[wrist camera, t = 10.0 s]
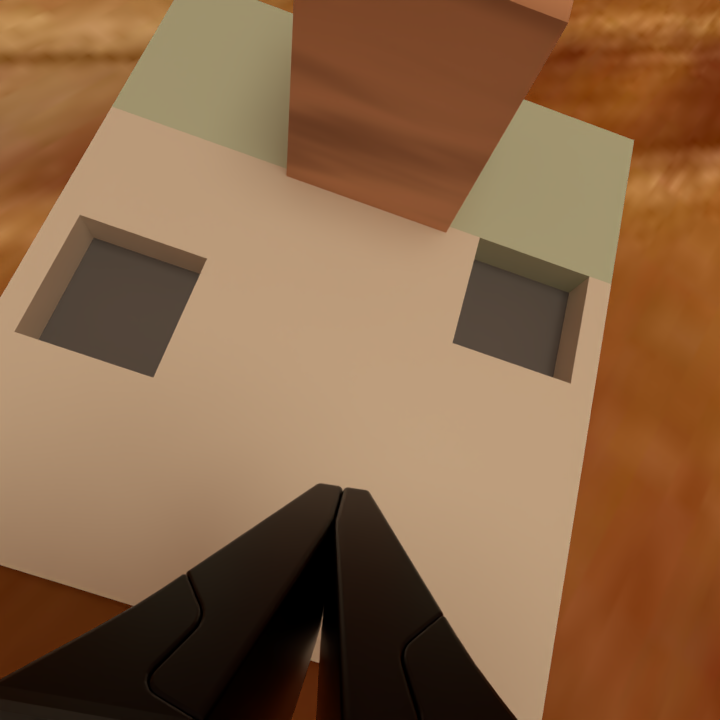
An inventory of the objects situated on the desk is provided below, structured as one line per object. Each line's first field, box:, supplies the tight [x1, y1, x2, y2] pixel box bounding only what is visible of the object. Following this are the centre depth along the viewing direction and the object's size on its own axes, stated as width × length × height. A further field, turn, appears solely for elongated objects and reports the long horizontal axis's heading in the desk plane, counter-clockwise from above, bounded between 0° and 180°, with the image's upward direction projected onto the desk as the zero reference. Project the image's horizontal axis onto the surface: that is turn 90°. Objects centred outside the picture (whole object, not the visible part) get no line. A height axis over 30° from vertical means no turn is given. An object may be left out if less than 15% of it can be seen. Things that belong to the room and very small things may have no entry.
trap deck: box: [0, 107, 611, 720], centre depth 21 cm, size 17×22×2 cm
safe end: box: [112, 0, 634, 293], centre depth 25 cm, size 8×22×2 cm, turn 74°
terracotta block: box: [286, 0, 573, 233], centre depth 19 cm, size 7×7×10 cm
